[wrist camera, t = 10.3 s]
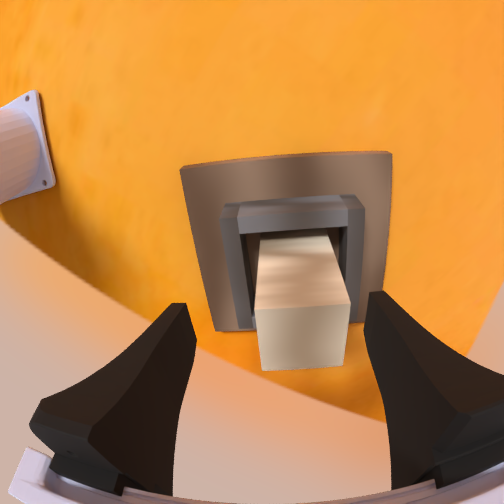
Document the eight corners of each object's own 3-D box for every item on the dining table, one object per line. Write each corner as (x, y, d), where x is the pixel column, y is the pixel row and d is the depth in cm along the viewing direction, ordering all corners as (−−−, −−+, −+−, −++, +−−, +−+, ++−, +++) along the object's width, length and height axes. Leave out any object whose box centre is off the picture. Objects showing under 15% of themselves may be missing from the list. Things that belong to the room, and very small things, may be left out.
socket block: (217, 323, 25) (210, 353, 22) (183, 165, 19) (166, 180, 16) (374, 312, 24) (385, 342, 21) (386, 150, 17) (408, 163, 14)
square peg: (266, 281, 21) (262, 370, 14) (261, 228, 20) (254, 309, 13) (323, 277, 21) (342, 365, 14) (324, 224, 19) (350, 303, 12)
